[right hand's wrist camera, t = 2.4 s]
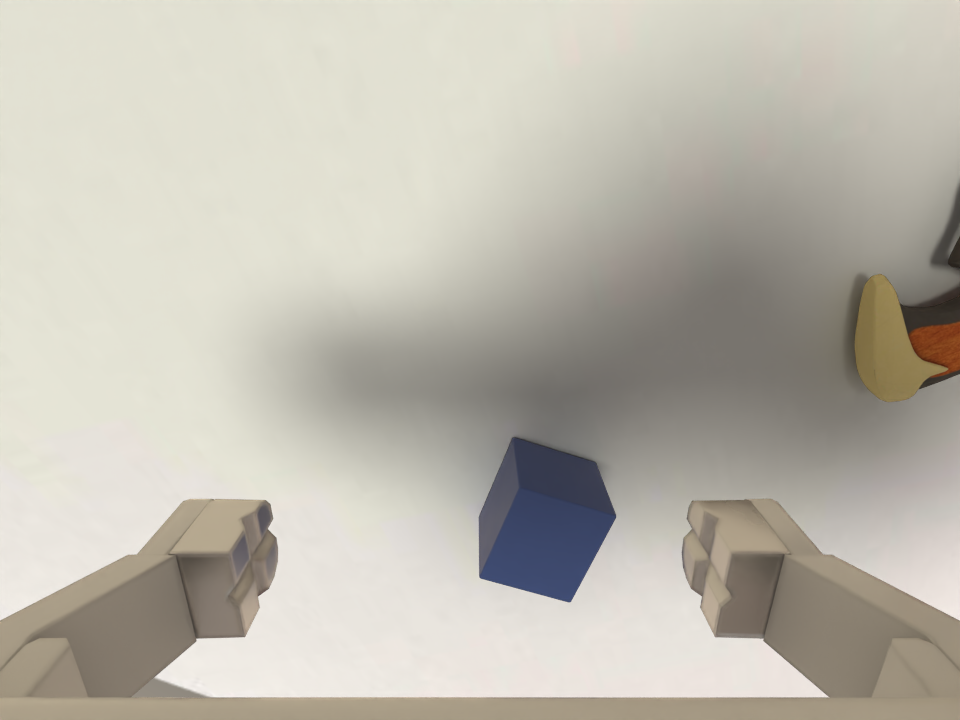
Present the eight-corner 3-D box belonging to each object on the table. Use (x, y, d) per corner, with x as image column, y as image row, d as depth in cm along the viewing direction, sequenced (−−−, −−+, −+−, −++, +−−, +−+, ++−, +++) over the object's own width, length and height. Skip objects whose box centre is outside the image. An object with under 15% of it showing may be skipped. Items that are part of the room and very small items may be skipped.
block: (478, 517, 26) (478, 578, 23) (512, 436, 25) (519, 487, 21) (557, 540, 27) (570, 603, 23) (596, 462, 25) (617, 516, 22)
